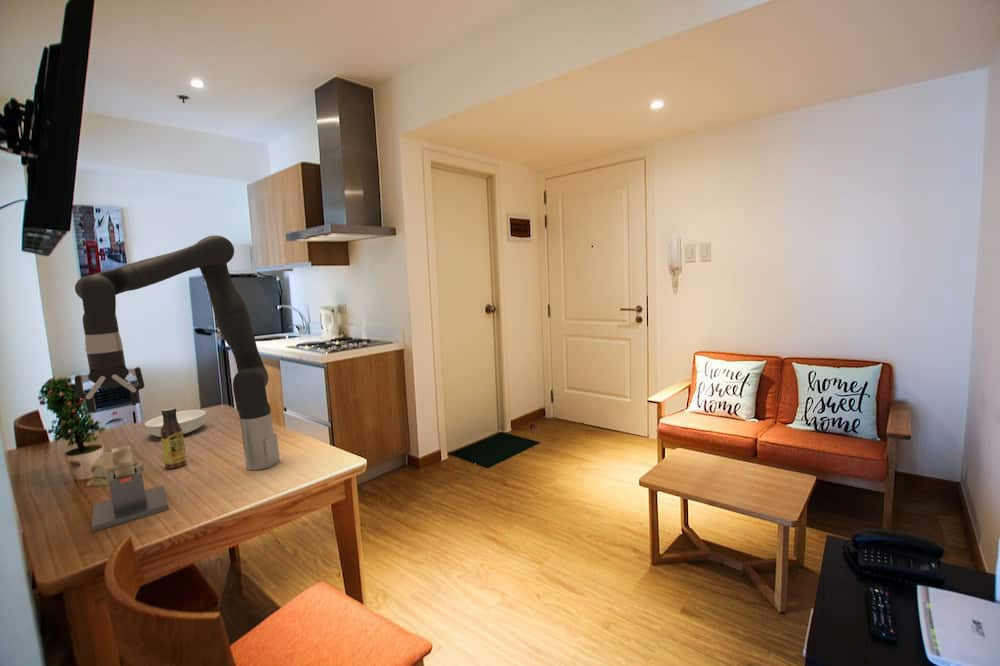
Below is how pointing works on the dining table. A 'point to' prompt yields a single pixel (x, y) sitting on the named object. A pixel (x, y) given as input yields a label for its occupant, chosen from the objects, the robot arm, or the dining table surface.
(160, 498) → the graphite stand
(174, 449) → the sauce bottle
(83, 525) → the dining table surface
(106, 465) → the ceramic model
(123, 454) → the ash post
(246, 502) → the dining table surface
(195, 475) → the dining table surface
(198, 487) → the dining table surface
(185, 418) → the serving bowl
